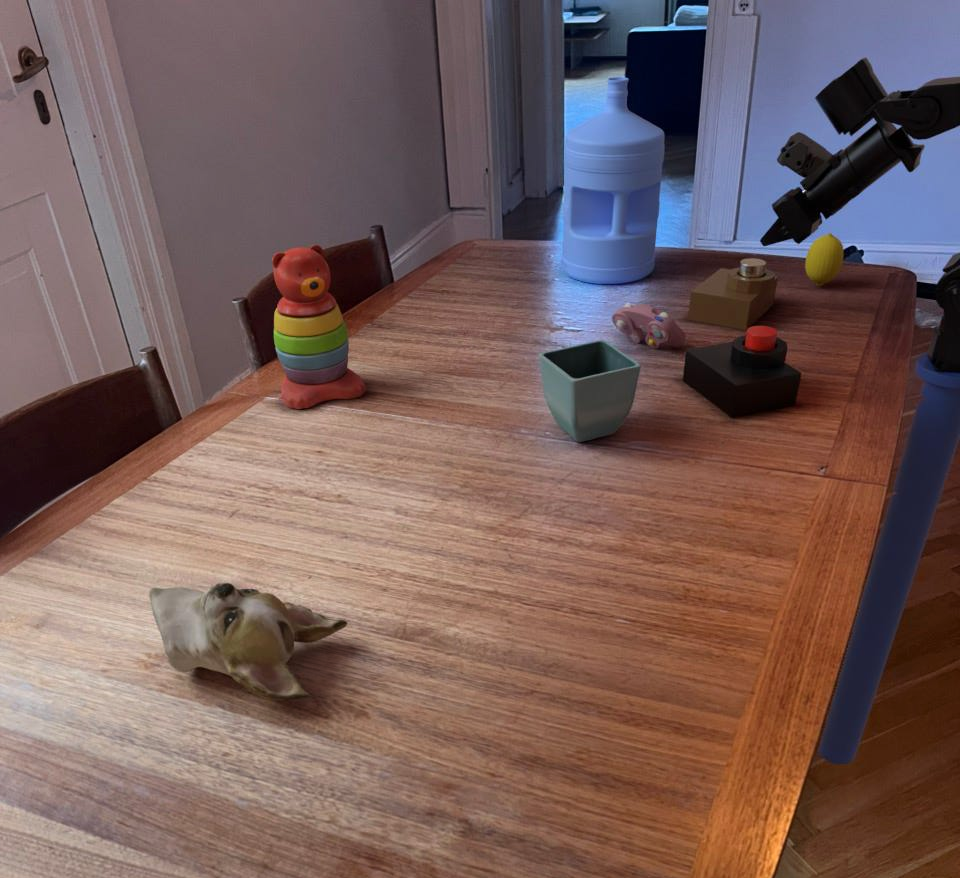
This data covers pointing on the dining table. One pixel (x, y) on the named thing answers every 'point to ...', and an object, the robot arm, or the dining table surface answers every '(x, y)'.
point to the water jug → (611, 193)
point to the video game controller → (648, 325)
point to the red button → (761, 338)
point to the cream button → (752, 268)
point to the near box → (742, 377)
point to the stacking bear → (310, 332)
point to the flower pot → (589, 388)
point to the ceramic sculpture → (238, 635)
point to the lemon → (824, 259)
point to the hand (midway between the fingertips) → (762, 243)
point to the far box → (732, 299)
